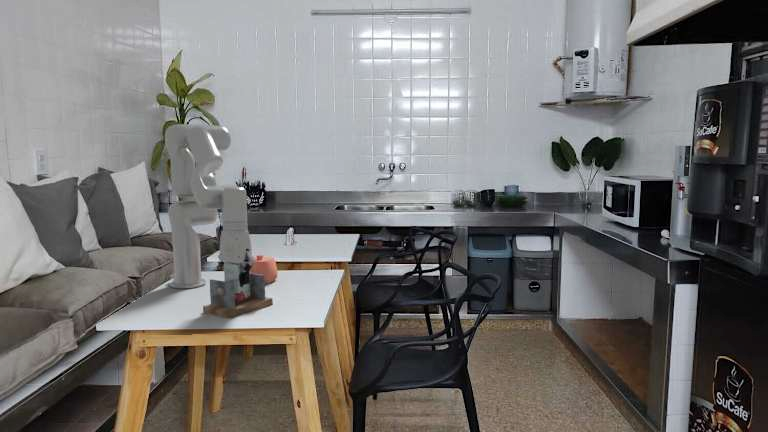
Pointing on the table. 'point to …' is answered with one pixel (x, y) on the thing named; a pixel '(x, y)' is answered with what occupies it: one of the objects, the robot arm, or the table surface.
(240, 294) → the ink box
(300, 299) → the table surface
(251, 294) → the wooden stand
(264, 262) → the teapot
